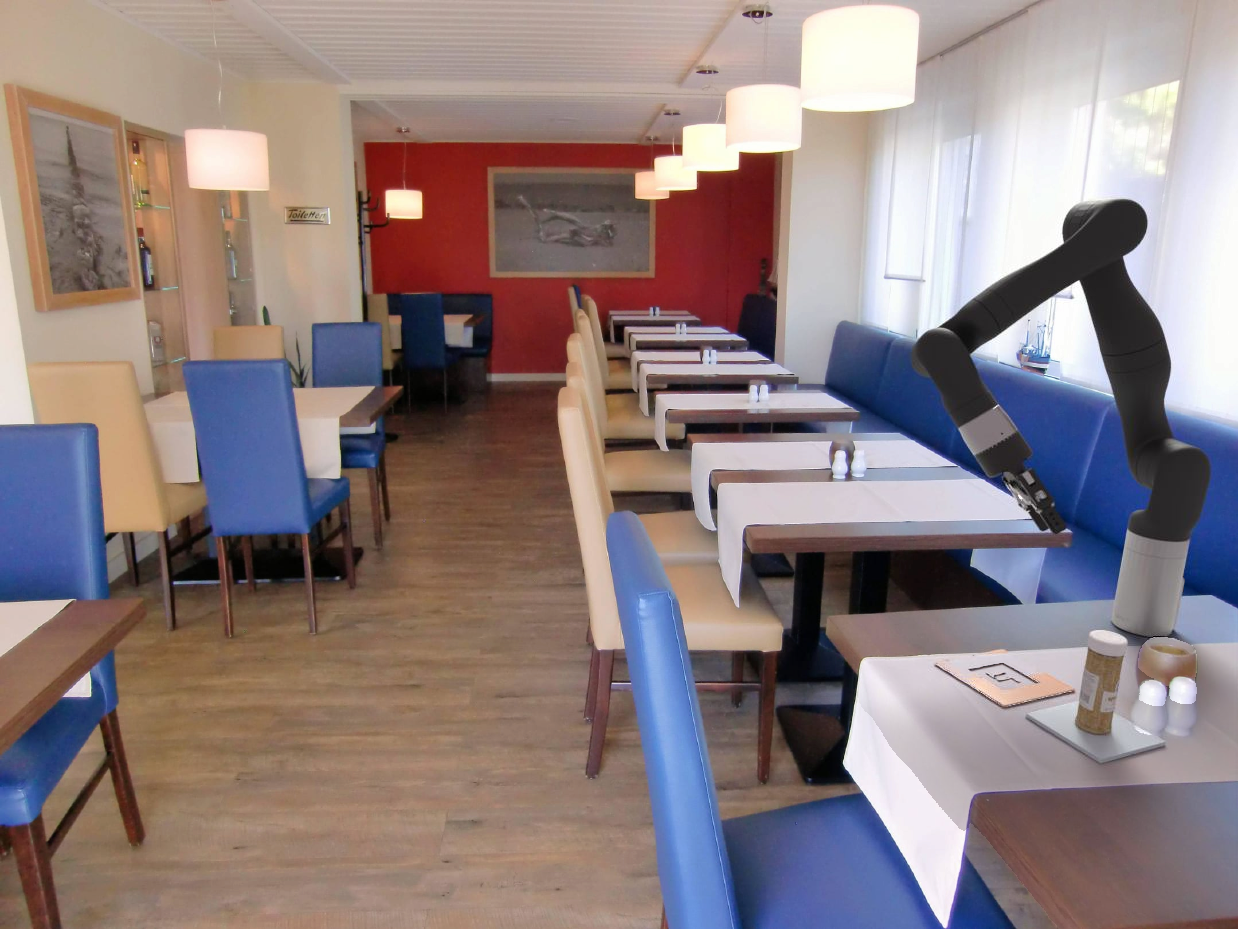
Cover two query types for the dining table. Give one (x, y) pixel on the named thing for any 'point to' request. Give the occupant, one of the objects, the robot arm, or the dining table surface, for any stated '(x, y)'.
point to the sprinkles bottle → (1100, 681)
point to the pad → (1095, 745)
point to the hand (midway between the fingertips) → (1054, 530)
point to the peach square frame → (1017, 695)
